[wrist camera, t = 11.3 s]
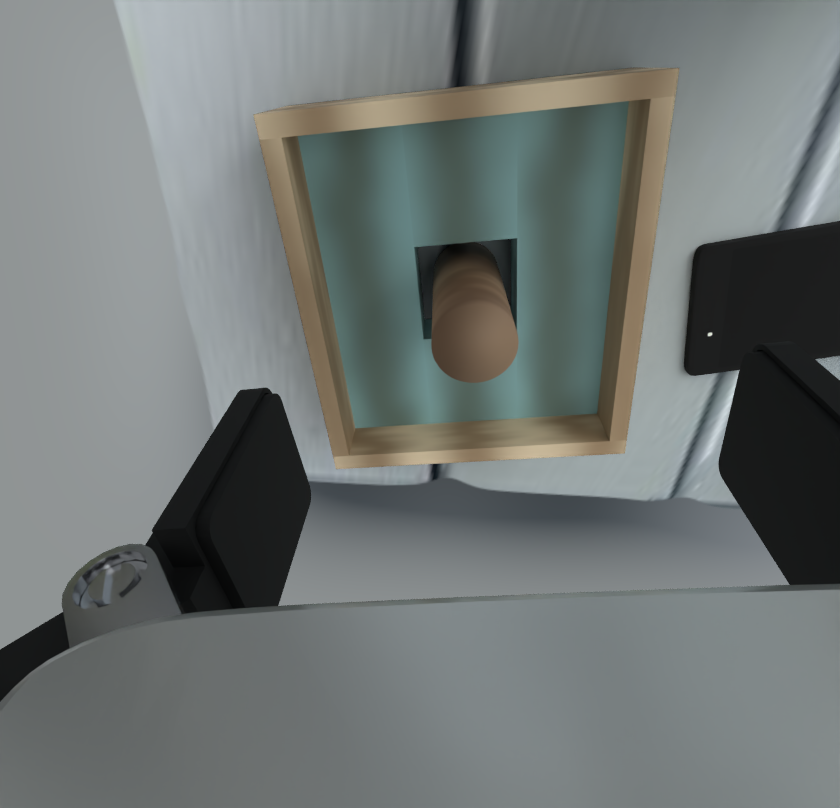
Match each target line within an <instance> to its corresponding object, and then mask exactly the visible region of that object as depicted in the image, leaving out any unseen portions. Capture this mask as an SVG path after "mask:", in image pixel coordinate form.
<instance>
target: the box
mask: <svg viewBox="0 0 840 808" xmlns="http://www.w3.org/2000/svg"><path fill="white" fill-rule="evenodd" d="M678 74H679V68H626V69H617V70H608V71H599V72H590V73H581V74H572V75H563V76H554V77H545V78H536V79H527V80H517V81H508V82H499V83H490V84H481V85H472V86H463V87H454V88H445V89H436V90H427V91H418V92H409V93H400V94H391V95H381V96H372V97H363V98H354V99H345V100H336V101H327V102H318V103H309V104H300V105H291V106H285V107H281V108H277V109H273V110H269V111H266V112H262V113H258V114H254V119H255V124H256V128H257V132H258V136H259V141H260V145H261V149H262V154H263V158H264V162H265V166H266V171H267V175H268V179H269V184H270V188H271V192H272V196H273V201H274V205H275V209H276V214H277V218H278V222H279V226H280V231H281V235H282V239H283V244H284V248H285V252H286V256H287V261H288V265H289V269H290V274H291V278H292V282H293V286H294V291H295V295H296V299H297V304H298V308H299V312H300V317H301V321H302V325H303V329H304V334H305V338H306V342H307V347H308V351H309V355H310V359H311V364H312V368H313V372H314V377H315V381H316V385H317V389H318V394H319V398H320V402H321V407H322V411H323V415H324V419H325V424H326V428H327V432H328V437H329V441H330V445H331V449H332V454H333V458H334V462H335V467H336V469H347V468H365V467H383V466H402V465H420V464H438V463H457V462H475V461H493V460H511V459H530V458H548V457H566V456H584V455H603V454H621V453H625V448H626V441H627V434H628V427H629V420H630V413H631V406H632V399H633V392H634V384H635V377H636V370H637V363H638V356H639V349H640V342H641V335H642V328H643V321H644V314H645V307H646V300H647V293H648V286H649V279H650V272H651V265H652V258H653V251H654V244H655V237H656V229H657V222H658V215H659V208H660V201H661V194H662V187H663V180H664V173H665V166H666V159H667V152H668V145H669V138H670V131H671V124H672V117H673V110H674V103H675V96H676V89H677V82H678ZM502 239H511V313H512V316H513V320H514V323H515V326H516V330H517V334H518V341H519V343H518V350H517V354H516V357H515V359H514V360H513V362H512V364H511V365H510V366H509V367H508V368H507V370H505V371H504V372H503V373H502V374H500V375H499V376H497V377H495V378H493V379H491V380H488V381H484V382H479V383H468V382H462V381H459V380H456V379H454V378H451V377H450V376H448V375H447V374H445V373H444V372H443V371H442V370H441V369H440V368H439V366H438V365H437V363H436V362H435V360H434V357H433V354H432V349H431V339H432V319H426V320H425V318H424V307H423V297H422V287H421V277H420V267H419V256H418V247H422V246H433V245H445V244H456V243H468V242H479V241H491V240H502Z"/></svg>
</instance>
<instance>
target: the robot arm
mask: <svg viewBox="0 0 840 808" xmlns="http://www.w3.org/2000/svg"><path fill="white" fill-rule="evenodd" d="M719 471H720V474H721V477H722V479H723V480H724V482H725V484H726V485H727V487H728V488H729V490H730V491H731V493H732V495H733V496H734V498H735V499H736V501H737V502H738V504H739V506H740V507H741V509H742V510H743V512H744V513H745V515H746V517H747V518H748V520H749V521H750V523H751V524H752V526H753V528H754V529H755V531H756V532H757V534H758V535H759V537H760V538H761V540H762V542H763V543H764V545H765V546H766V548H767V550H768V551H769V553H770V554H771V556H772V557H773V559H774V561H775V562H776V564H777V565H778V567H779V568H780V570H781V572H782V573H783V575H784V576H785V578H786V579H787V581H788V583H789V584H790V585H775V586H747V587H717V588H691V589H690V588H689V589H662V590H661V589H659V590H631V591H606V592H580V593H553V594H528V595H503V596H479V597H454V598H432V599H411V600H388V601H368V602H367V601H366V602H345V603H322V604H304V605H287V606H278V604H279V601H280V598H281V595H282V592H283V589H284V585H285V582H286V579H287V576H288V572H289V569H290V566H291V563H292V560H293V557H294V553H295V550H296V547H297V544H298V541H299V538H300V534H301V531H302V528H303V525H304V522H305V518H306V515H307V512H308V509H309V505H310V502H311V490H310V485H309V483H308V479H307V476H306V473H305V470H304V467H303V464H302V461H301V458H300V455H299V452H298V449H297V446H296V443H295V440H294V437H293V434H292V431H291V428H290V425H289V422H288V419H287V415H286V412H285V409H284V406H283V403H282V400H281V398H280V396H279V395H278V394H272V392H271V391H270V390H269V389H268V388H258V389H247V390H240V391H239V392H238V393H237V395H236V397H235V398H234V400H233V401H232V403H231V405H230V406H229V408H228V409H227V411H226V413H225V414H224V416H223V417H222V419H221V421H220V422H219V424H218V425H217V427H216V429H215V430H214V432H213V433H212V435H211V436H210V438H209V440H208V441H207V443H206V444H205V446H204V448H203V449H202V451H201V452H200V454H199V456H198V457H197V459H196V460H195V462H194V464H193V465H192V467H191V468H190V470H189V472H188V473H187V475H186V476H185V478H184V480H183V481H182V483H181V484H180V486H179V488H178V489H177V491H176V492H175V494H174V495H173V497H172V499H171V500H170V502H169V504H168V505H167V507H166V508H165V510H164V511H163V513H162V515H161V516H160V518H159V519H158V521H157V523H156V524H155V526H154V527H153V529H152V532H153V534H152V535H151V537H150V538H149V540H148V542H147V543H146V545H142V544H128V545H123V546H119V547H116V548H114V549H111V550H108V551H106V552H104V553H102V554H100V555H99V556H97V557H95V558H94V559H92V560H90V561H89V562H88V563H87V564H85V565H84V566H83V567H82V568H81V569H80V570H78V571H77V572H76V574H75V575H74V576H73V577H72V578H71V580H70V581H69V582H68V584H67V586H66V588H65V590H64V592H63V595H62V608H63V612H62V613H60V614H59V615H57V616H55V617H54V618H52V619H50V620H49V621H47V622H45V623H44V624H42V625H40V626H39V627H37V628H35V629H34V630H32V631H30V632H29V633H27V634H25V635H24V636H22V637H20V638H19V639H17V640H15V641H14V642H12V643H11V644H9V645H7V646H5V647H4V648H2V649H1V650H0V808H840V380H838V379H837V378H836V377H835V376H834V375H832V374H831V373H830V372H829V371H828V370H827V369H825V368H824V367H823V366H822V365H821V364H819V363H818V362H817V361H816V360H815V359H814V358H812V357H811V356H810V355H809V354H808V353H806V352H805V351H804V350H803V349H802V348H801V347H799V346H798V345H797V344H796V343H794V342H777V343H766V344H758V345H756V346H755V347H754V348H753V350H752V352H748V353H746V354H745V355H744V356H743V359H742V362H741V366H740V371H739V375H738V379H737V384H736V388H735V392H734V397H733V401H732V405H731V410H730V414H729V418H728V423H727V427H726V431H725V436H724V440H723V444H722V449H721V453H720V457H719Z"/></svg>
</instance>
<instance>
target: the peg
mask: <svg viewBox="0 0 840 808" xmlns="http://www.w3.org/2000/svg"><path fill="white" fill-rule="evenodd" d="M518 343H519V341H518V334H517V330H516V326H515V323H514V320H513V316H512V313H511V309H510V306H509V303H508V299H507V296H506V292H505V289H504V285H503V282H502V279H501V275H500V272H499V268H498V265H497V262H496V259H495V257H494V255H493V254H492V253H491V251H490V250H489V249H487V248H486V247H485V246H483V245H481V244H479V243H476V242H468V243H456V244H452V245H450V246H449V247H447V248H446V249H445V250H444V251H443V252H442V253H441V254H440V255H439V257H438V259H437V260H436V263H435V266H434V272H433V306H432V339H431V349H432V354H433V357H434V360H435V362H436V363H437V365H438V366H439V368H440V369H441V370H442V371H443V372H444V373H445V374H447V375H448V376H450V377H451V378H454V379H456V380H459V381H462V382H468V383H479V382H484V381H488V380H491V379H493V378H495V377H497V376H499V375H500V374H502V373H503V372H504V371H505V370H507V368H508V367H509V366H510V365H511V364H512V362H513V360H514V359H515V357H516V354H517V350H518Z"/></svg>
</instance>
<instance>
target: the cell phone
mask: <svg viewBox="0 0 840 808" xmlns="http://www.w3.org/2000/svg"><path fill="white" fill-rule="evenodd" d="M777 342H794V343H796V344H797V345H798V346H799V347H801V348H802V349H803V350H804V351H805V352H806V353H808V354H809V355H810V356H811V357H812V358H814V359H819V358H826V357H833V356H840V221H837V222H831V223H825V224H819V225H814V226H808V227H802V228H796V229H790V230H784V231H778V232H772V233H767V234H761V235H755V236H749V237H743V238H737V239H731V240H725V241H720V242H714V243H708V244H704V245H701V246H699V247H698V248H697V250H696V252H695V254H694V259H693V267H692V278H691V290H690V301H689V313H688V324H687V336H686V347H685V358H684V367H685V370H686V371H687V373H688V374H689V375H693V376H696V375H704V374H712V373H719V372H726V371H733V370H740V366H741V362H742V359H743V356H744V355H745V354H746V353H748V352H752V350H753V348H754V347H755V346H756V345H758V344H766V343H777Z"/></svg>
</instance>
